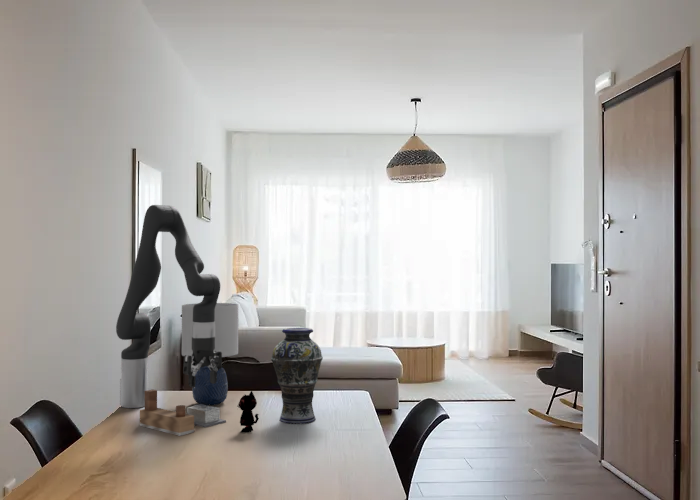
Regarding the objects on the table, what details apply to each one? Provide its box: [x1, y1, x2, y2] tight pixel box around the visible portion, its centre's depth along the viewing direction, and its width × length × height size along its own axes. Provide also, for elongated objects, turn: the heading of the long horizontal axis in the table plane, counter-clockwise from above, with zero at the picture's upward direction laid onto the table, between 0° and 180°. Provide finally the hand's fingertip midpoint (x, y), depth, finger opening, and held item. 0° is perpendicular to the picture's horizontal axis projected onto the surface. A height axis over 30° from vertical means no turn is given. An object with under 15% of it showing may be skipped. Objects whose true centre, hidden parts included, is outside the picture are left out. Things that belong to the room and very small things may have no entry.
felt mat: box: [194, 418, 227, 428], centre depth 227 cm, size 12×9×1 cm
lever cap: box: [186, 403, 221, 424], centre depth 227 cm, size 9×6×5 cm, turn 52°
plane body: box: [139, 389, 195, 437], centre depth 218 cm, size 20×6×11 cm, turn 52°
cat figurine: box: [236, 389, 260, 434], centre depth 215 cm, size 7×7×12 cm
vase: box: [270, 326, 323, 425], centre depth 230 cm, size 17×17×30 cm
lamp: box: [181, 302, 239, 407], centre depth 255 cm, size 20×20×37 cm
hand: (202, 385), depth 227 cm, fingers open, 8 cm apart
